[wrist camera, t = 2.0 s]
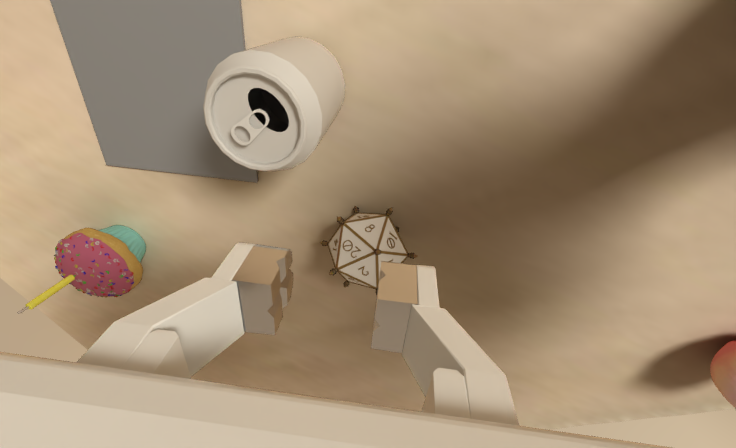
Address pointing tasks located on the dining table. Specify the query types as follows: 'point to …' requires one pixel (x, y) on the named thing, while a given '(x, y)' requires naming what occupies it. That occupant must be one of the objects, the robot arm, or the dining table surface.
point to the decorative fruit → (725, 371)
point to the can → (273, 102)
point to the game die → (365, 247)
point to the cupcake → (98, 262)
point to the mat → (153, 78)
